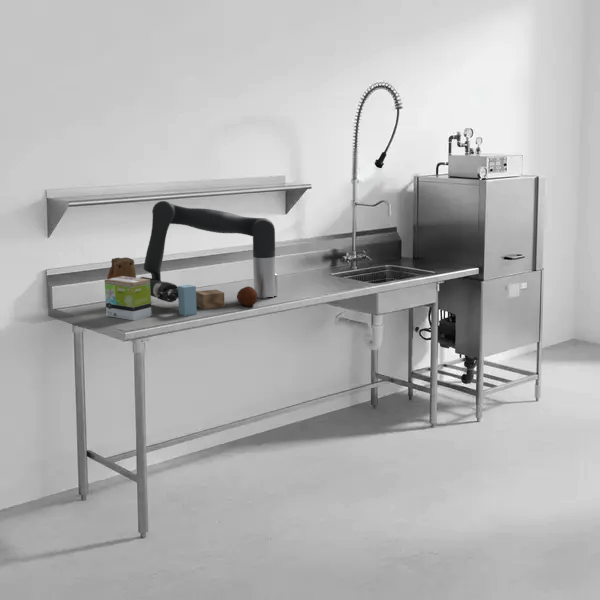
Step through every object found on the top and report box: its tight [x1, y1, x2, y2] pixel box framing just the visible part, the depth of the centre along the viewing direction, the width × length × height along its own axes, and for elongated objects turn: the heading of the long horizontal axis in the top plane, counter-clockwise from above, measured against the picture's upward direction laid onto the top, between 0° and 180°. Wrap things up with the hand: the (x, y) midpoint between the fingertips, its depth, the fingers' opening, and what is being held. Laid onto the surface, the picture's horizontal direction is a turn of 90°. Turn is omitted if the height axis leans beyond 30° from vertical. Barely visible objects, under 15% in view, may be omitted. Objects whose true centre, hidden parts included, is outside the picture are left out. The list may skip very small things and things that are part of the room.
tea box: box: [104, 276, 152, 321], centre depth 339 cm, size 15×10×15 cm
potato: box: [236, 285, 258, 307], centre depth 359 cm, size 8×12×8 cm, turn 34°
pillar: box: [177, 284, 198, 317], centre depth 342 cm, size 5×5×11 cm
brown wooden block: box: [196, 289, 226, 310], centre depth 359 cm, size 9×9×6 cm
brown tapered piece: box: [106, 257, 137, 279], centre depth 357 cm, size 11×8×20 cm
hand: (184, 296), depth 344 cm, fingers open, 8 cm apart
